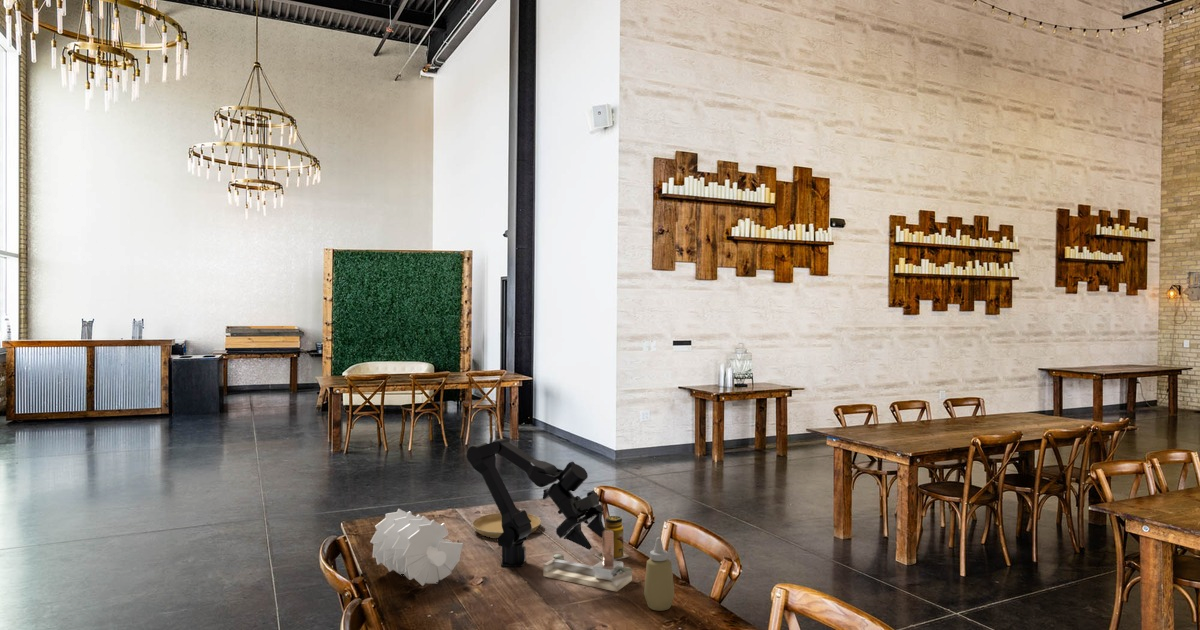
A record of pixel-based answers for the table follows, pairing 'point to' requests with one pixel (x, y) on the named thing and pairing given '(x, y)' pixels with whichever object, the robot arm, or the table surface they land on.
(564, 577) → the rail
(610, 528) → the condiment
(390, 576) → the table surface
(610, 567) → the carriage
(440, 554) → the spiral staircase
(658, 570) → the squeeze bottle
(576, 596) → the table surface
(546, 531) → the table surface
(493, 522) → the plant saucer
